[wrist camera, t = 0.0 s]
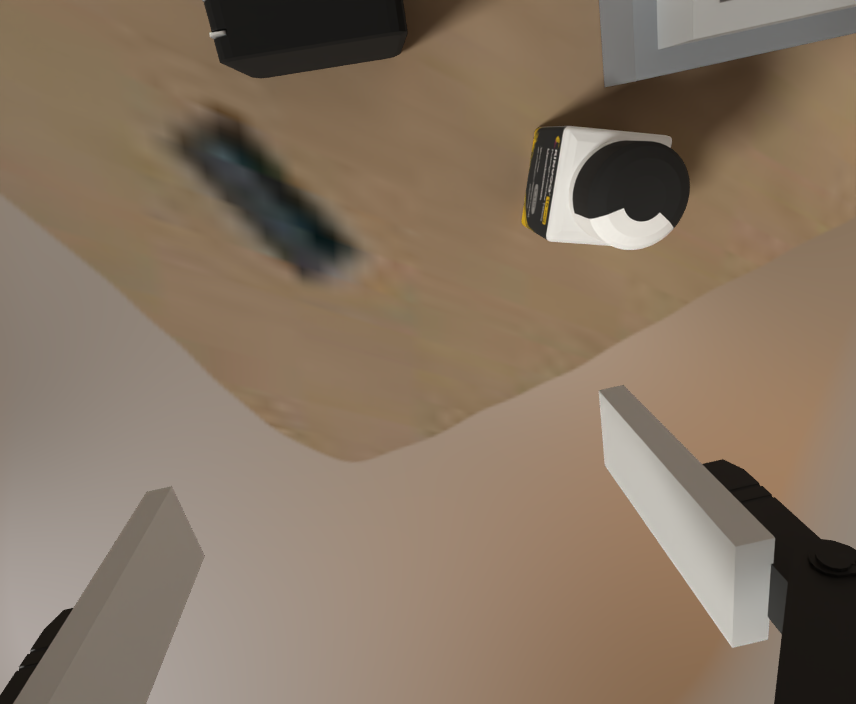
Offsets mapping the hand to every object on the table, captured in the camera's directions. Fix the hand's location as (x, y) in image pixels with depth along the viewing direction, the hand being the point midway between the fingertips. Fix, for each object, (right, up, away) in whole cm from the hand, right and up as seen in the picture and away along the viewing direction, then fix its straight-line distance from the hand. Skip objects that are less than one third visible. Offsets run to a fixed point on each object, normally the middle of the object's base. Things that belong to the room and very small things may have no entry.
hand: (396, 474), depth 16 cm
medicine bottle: (+12, +17, +25) cm, 32 cm away
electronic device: (-6, +25, +20) cm, 33 cm away
